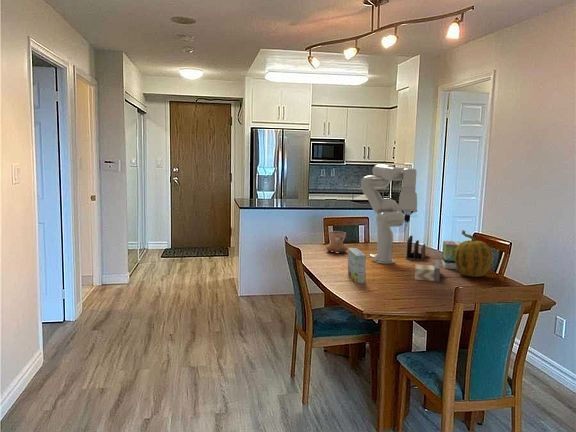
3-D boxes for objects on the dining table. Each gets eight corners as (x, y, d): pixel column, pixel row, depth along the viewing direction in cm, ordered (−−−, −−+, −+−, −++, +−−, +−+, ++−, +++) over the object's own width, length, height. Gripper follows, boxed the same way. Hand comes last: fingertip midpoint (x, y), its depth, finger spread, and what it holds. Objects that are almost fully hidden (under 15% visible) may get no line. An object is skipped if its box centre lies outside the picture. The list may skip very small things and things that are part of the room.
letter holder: (406, 259, 307) (406, 238, 305) (410, 254, 325) (411, 234, 323) (422, 261, 303) (422, 239, 301) (425, 255, 321) (426, 234, 320)
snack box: (346, 274, 264) (347, 247, 262) (356, 274, 264) (357, 247, 263) (355, 284, 243) (356, 255, 241) (366, 283, 243) (367, 255, 242)
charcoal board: (434, 281, 250) (434, 268, 249) (434, 272, 271) (434, 260, 270) (439, 281, 249) (439, 268, 248) (438, 272, 270) (439, 260, 269)
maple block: (414, 279, 254) (415, 268, 253) (415, 274, 265) (415, 264, 264) (434, 281, 251) (434, 270, 250) (434, 276, 262) (434, 265, 261)
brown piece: (347, 254, 321) (348, 234, 319) (326, 254, 322) (326, 233, 321) (346, 250, 338) (347, 230, 337) (326, 249, 340) (327, 230, 338)
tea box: (462, 269, 278) (463, 244, 277) (444, 268, 280) (445, 244, 279) (458, 264, 293) (459, 240, 291) (441, 263, 295) (442, 240, 293)
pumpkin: (449, 271, 272) (451, 228, 270) (483, 272, 272) (485, 229, 269) (460, 279, 254) (462, 233, 251) (496, 280, 253) (499, 233, 251)
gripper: (394, 190, 270) (393, 221, 272) (421, 191, 265) (420, 223, 268) (395, 189, 277) (394, 220, 279) (422, 190, 272) (420, 221, 275)
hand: (407, 221), depth 273 cm, fingers closed
